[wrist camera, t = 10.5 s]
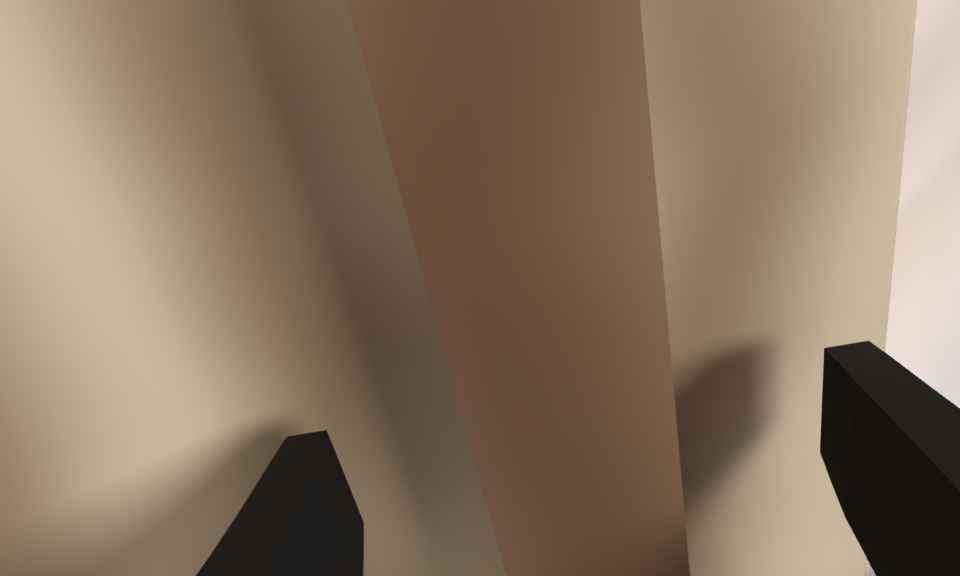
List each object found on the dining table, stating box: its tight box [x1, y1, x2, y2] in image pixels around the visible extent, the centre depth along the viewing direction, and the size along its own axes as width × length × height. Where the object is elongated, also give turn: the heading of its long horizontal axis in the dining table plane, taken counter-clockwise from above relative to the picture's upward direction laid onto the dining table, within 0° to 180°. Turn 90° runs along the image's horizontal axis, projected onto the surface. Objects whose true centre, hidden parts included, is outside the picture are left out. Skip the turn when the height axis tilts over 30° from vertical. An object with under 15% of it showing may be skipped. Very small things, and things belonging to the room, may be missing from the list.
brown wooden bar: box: [347, 0, 690, 576], centre depth 12 cm, size 2×18×3 cm, turn 11°
